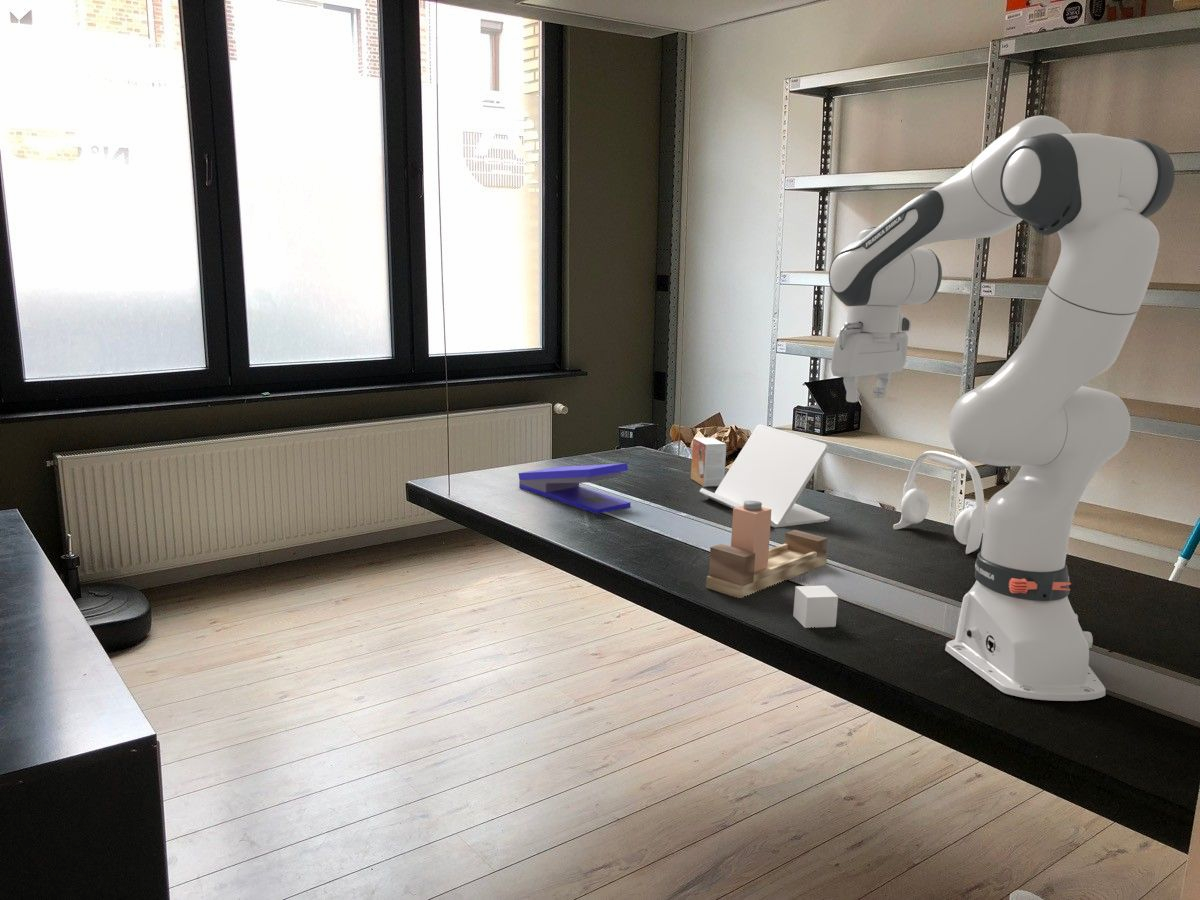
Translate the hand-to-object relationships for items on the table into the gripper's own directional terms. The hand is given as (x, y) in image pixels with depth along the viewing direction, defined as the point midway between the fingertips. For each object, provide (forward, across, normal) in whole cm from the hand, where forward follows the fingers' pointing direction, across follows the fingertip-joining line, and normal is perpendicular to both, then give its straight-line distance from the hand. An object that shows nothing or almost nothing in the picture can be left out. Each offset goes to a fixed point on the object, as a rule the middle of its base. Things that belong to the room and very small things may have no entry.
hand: (866, 399), depth 173 cm
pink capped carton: (+28, -24, +6) cm, 38 cm away
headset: (+30, +27, -4) cm, 41 cm away
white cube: (+31, -30, -11) cm, 44 cm away
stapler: (+30, -6, +68) cm, 74 cm away
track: (+31, -17, +6) cm, 36 cm away
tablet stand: (+30, +19, +33) cm, 49 cm away
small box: (+30, +29, +56) cm, 70 cm away
